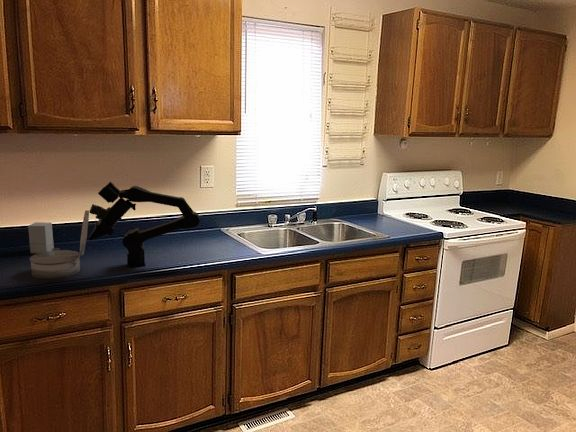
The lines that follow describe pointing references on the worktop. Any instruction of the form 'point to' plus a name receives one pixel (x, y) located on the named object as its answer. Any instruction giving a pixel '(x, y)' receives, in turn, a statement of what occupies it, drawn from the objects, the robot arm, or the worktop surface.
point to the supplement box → (40, 237)
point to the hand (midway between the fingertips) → (89, 239)
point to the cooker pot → (55, 264)
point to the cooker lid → (84, 232)
